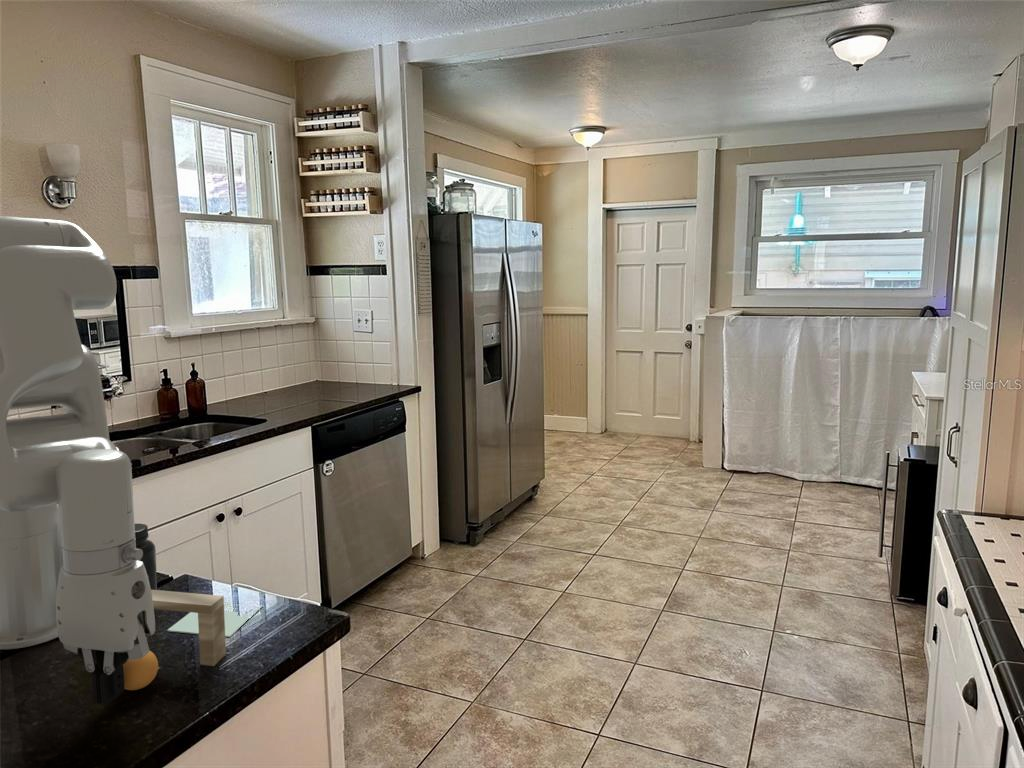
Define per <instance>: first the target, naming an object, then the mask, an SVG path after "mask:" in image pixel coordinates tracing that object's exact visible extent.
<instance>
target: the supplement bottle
mask: <svg viewBox="0 0 1024 768" xmlns="http://www.w3.org/2000/svg"><path fill="white" fill-rule="evenodd" d="M134 524H135V538H136V548H137V549H142V551H143V556H142V558H141V559H140V560H138V561H142V562H143V564H144V567H145V569H146V572H147V576H148V579H149V584H150V588H151V590H158V587H157V586H158V581H157V579H158V578H157V577H158V576H157V575H158V574H157V554H156V553H157V552H156V545H155V543H154V542H153V541H152V540H150V539H149V527H148V525H147V524H145V523H134Z"/></svg>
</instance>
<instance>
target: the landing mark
mask: <svg viewBox="0 0 1024 768" xmlns="http://www.w3.org/2000/svg"><path fill="white" fill-rule="evenodd" d="M224 603H225V604H224V609H225V607H226V608H227V607H228V605H229V607H232V606H230V605H231V604H228V601H224ZM226 603H227V604H226ZM226 605H227V606H226ZM232 605H233V604H232ZM234 605H235V604H234ZM236 605H237V604H236ZM259 605H260V607H259V609H260V608H261V607H263V606H264V605H263V604H262V605H261V604H259ZM263 608H264V607H263ZM229 609H230V608H229ZM231 609H232V608H231ZM233 609H234V608H233ZM235 609H236V608H235ZM259 609H258V607H257V610H255V613H256V612H257V611H258V610H259ZM261 609H262V608H261ZM261 609H260V610H261ZM260 610H259V611H260ZM259 611H258V612H259ZM258 612H257V613H258ZM255 613H254V612H253V615H254V614H255ZM257 613H256V614H257ZM256 614H255V615H256ZM237 615H238V612H235V611H234V612H233V611H232V612H231V610H230V612H229V610H228V611H227V610H226V611H225V610H224V619H225V638H231V637H232V636H234V634H235V633H236V632H237V630H238V629H239V628H240V627H241V626H242V625H243V623H245V622H246V621H247V620H248V619H249V618H247V616H248V614H246V613H245V614H244V613H243V614H242V617H241V615H240V616H239V615H238V616H237ZM253 615H250V616H253ZM255 615H254V616H255ZM254 616H253V617H254ZM245 617H246V618H245ZM249 620H250V619H249ZM249 620H248V621H249ZM248 621H247V622H248ZM247 622H246V623H247ZM246 623H245V624H246ZM243 626H244V625H243ZM243 626H242V627H243ZM242 627H241V628H242ZM241 628H240V629H241ZM240 629H239V630H240ZM239 630H238V631H239ZM166 631H167V632H170V633H171V632H172V633H182V634H192V635H199V626H198V613H194V612H188V614H186V615H185V616H184V617H182V618H181V619H179V620H178V621H177V622H175V623H174V624H173V625H172V626H171V627H169V628H168V629H166Z"/></svg>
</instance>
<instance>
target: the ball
mask: <svg viewBox="0 0 1024 768" xmlns="http://www.w3.org/2000/svg"><path fill="white" fill-rule="evenodd" d="M158 670H159V660H158V658H157V656H156V654H155V653H154V652H153V651H151V650H150V649H149V653H148V654H146V655H145V656H144V657H143V658H141V659H135V660H128V661H127V662H126V663H125V664H123V671H124V690H128V691H137V690H141V689H143V688H146V687H147V686H148V685H150V684H151V682H152V681H153V680H154V679H155V677H156V676H157V673H158Z"/></svg>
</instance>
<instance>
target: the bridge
mask: <svg viewBox="0 0 1024 768" xmlns="http://www.w3.org/2000/svg"><path fill="white" fill-rule="evenodd" d="M151 593H152V600H153V607H154V610H162V611H163V610H164V611H172V612H185V613H186V612H187V613H190V612H194V613H198V626H199V634H198V644H199V664H200V666H211V667H215V666H216V665H217V664H218V663H219V662H220V661H221V660H222V659H223V658H224V657H225V656H226V655H227V648H226V637H225V619H224V602H225V599H224V595H218V594H217V595H216V594H215V595H214V594H206V593H195V592H194V593H193V592H184V591H171V590H161V589H160V590H159V589H157V590H151ZM146 640H147V641H148V637H146Z"/></svg>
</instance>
